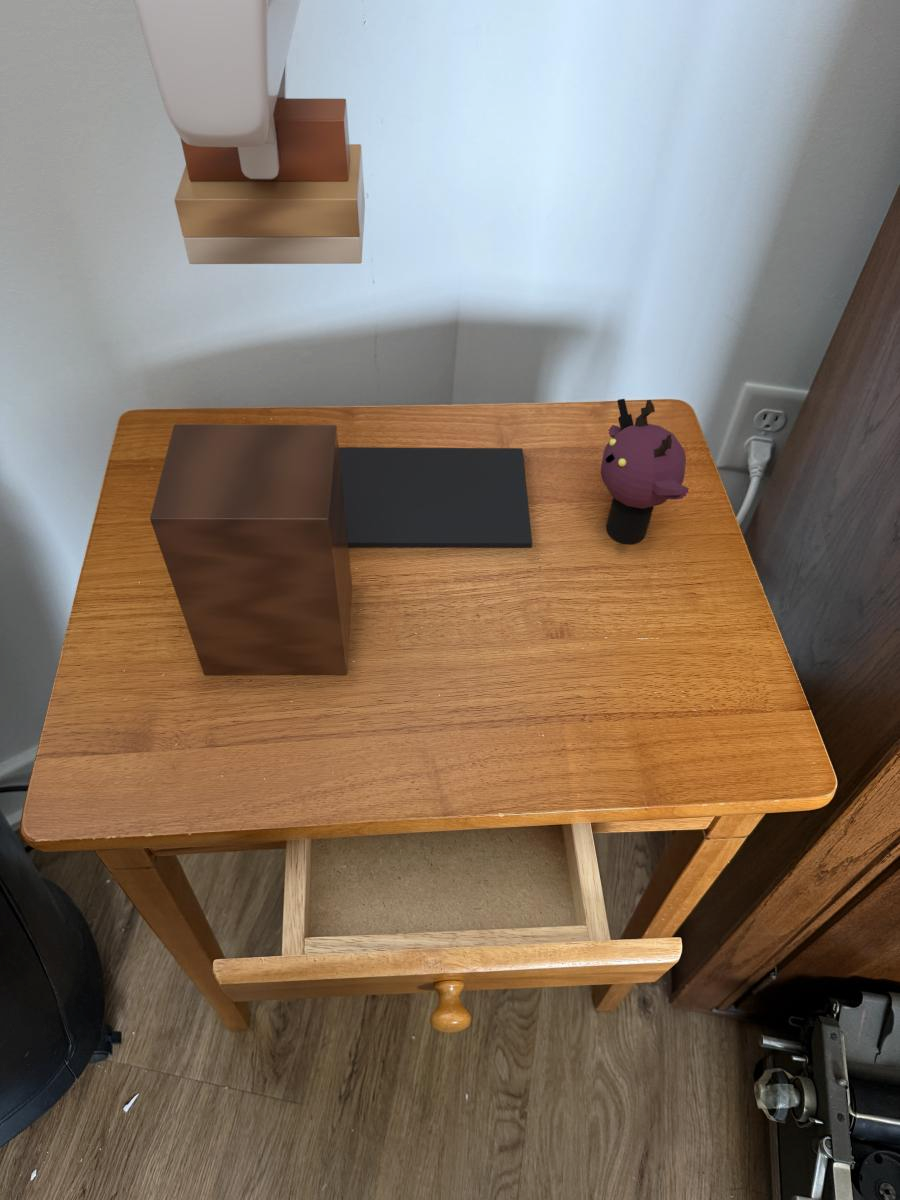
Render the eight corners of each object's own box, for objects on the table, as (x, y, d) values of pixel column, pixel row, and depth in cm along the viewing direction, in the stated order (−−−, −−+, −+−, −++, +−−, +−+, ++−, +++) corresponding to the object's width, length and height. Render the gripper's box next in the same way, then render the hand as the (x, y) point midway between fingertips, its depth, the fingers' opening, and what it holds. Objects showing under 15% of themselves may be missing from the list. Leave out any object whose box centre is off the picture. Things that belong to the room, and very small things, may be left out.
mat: (278, 547, 70) (277, 542, 69) (290, 451, 77) (290, 446, 76) (531, 547, 71) (532, 542, 70) (521, 453, 77) (522, 447, 77)
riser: (203, 675, 62) (149, 518, 50) (219, 587, 67) (173, 423, 55) (346, 675, 63) (328, 519, 50) (352, 587, 68) (336, 424, 55)
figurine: (600, 482, 75) (626, 365, 66) (691, 515, 73) (730, 399, 64) (563, 543, 71) (584, 428, 62) (658, 581, 69) (695, 467, 59)
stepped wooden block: (189, 264, 46) (158, 136, 41) (205, 207, 50) (179, 82, 45) (361, 264, 47) (352, 136, 42) (365, 206, 50) (357, 83, 45)
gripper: (179, -264, 41) (232, 66, 51) (67, -140, 28) (169, 263, 39) (318, -261, 41) (342, 68, 52) (268, -137, 28) (314, 264, 39)
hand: (267, 153), depth 45 cm, fingers closed on stepped wooden block, 2 cm apart
